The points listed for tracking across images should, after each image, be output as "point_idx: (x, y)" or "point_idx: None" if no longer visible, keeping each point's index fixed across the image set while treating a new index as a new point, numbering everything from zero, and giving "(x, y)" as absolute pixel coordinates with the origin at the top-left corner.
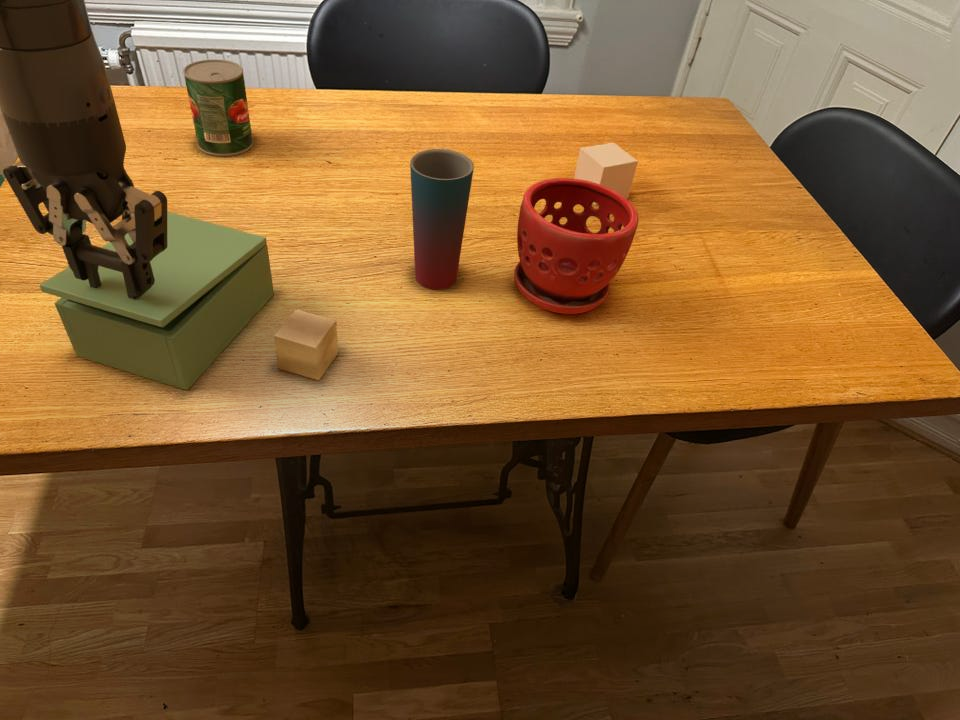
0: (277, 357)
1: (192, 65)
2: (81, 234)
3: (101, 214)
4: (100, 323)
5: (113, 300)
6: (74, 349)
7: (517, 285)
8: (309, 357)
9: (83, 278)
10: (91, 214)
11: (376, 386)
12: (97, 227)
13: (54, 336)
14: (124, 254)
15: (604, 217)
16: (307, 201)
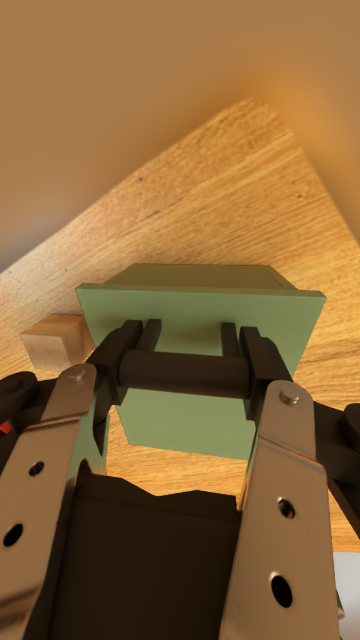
0: (77, 322)
1: (339, 615)
2: (254, 420)
3: None
4: (218, 284)
5: (174, 305)
6: (271, 268)
7: (3, 427)
8: (37, 326)
9: (241, 329)
10: (5, 580)
11: (14, 322)
12: (56, 475)
13: (312, 284)
14: (73, 384)
15: None
16: (191, 470)
